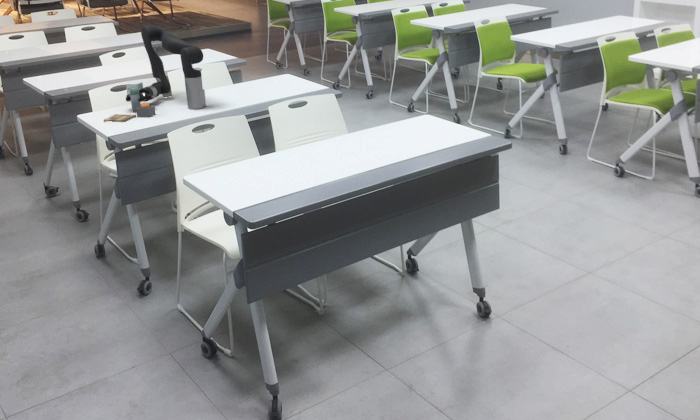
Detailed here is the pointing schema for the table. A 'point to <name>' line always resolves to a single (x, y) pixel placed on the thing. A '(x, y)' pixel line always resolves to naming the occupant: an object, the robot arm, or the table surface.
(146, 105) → the button
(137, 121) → the table surface
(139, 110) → the button housing
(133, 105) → the marker
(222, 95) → the table surface
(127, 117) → the kraft pad
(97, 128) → the table surface
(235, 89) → the table surface
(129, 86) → the small box
